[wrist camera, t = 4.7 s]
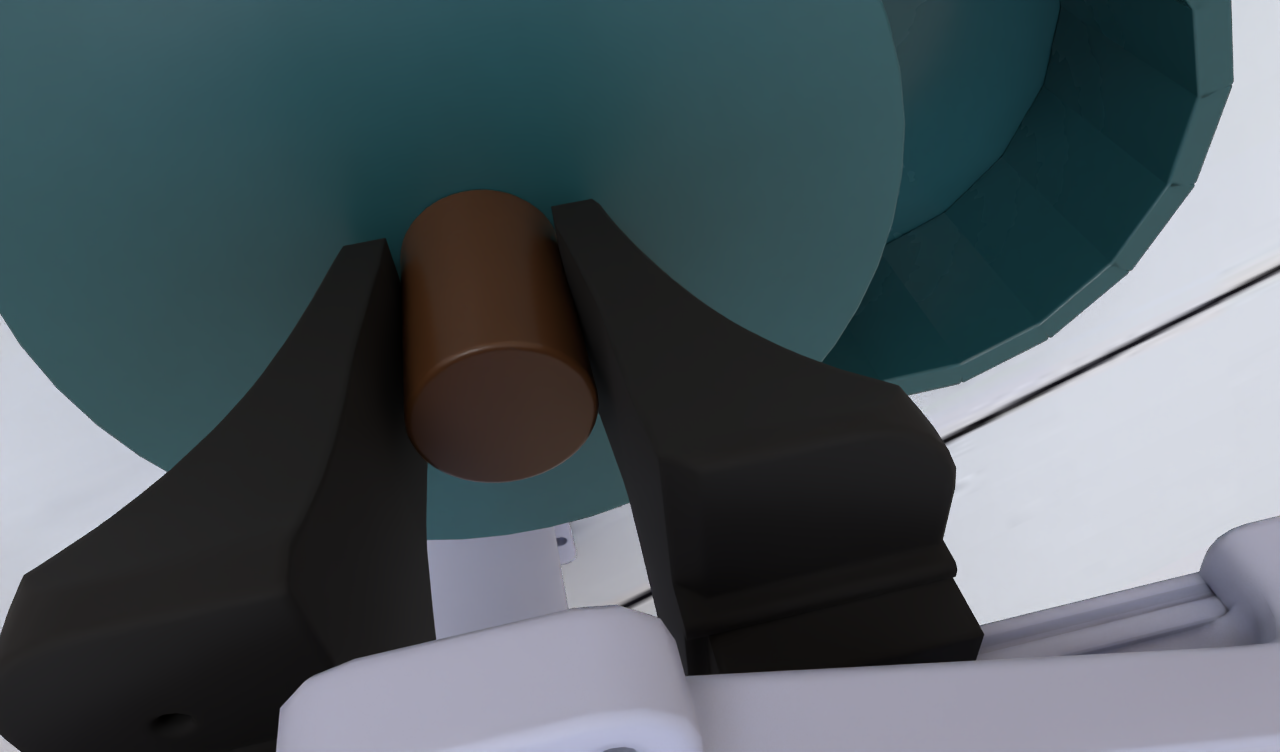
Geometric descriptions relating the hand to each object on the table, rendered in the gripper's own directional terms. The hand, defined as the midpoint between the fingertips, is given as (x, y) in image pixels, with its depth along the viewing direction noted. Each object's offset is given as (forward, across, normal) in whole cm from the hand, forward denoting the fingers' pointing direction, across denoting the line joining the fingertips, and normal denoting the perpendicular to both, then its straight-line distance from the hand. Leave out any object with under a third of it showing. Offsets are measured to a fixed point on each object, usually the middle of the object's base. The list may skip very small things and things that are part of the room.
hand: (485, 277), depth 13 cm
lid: (+1, 0, 0) cm, 1 cm away
